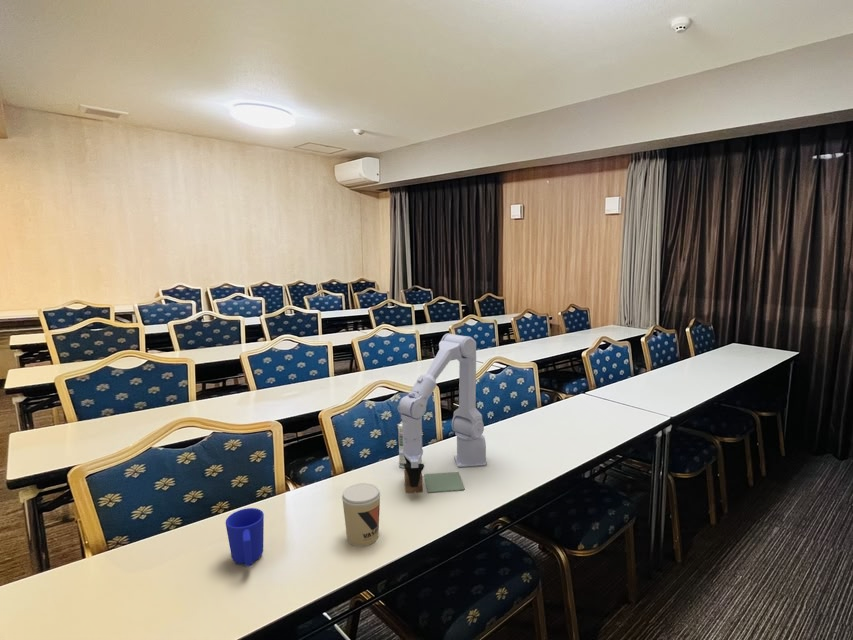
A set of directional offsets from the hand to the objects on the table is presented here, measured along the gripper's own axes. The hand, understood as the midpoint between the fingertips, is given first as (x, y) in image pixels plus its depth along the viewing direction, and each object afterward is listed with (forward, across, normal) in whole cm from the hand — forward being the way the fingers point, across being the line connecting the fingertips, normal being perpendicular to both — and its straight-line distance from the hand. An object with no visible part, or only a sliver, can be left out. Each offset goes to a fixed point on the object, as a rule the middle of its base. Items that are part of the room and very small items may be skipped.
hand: (413, 480), depth 138 cm
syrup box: (+3, -15, 0) cm, 15 cm away
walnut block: (+3, 0, 0) cm, 3 cm away
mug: (+3, +28, -40) cm, 49 cm away
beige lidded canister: (+3, +22, -14) cm, 26 cm away
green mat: (+3, -2, +10) cm, 10 cm away
